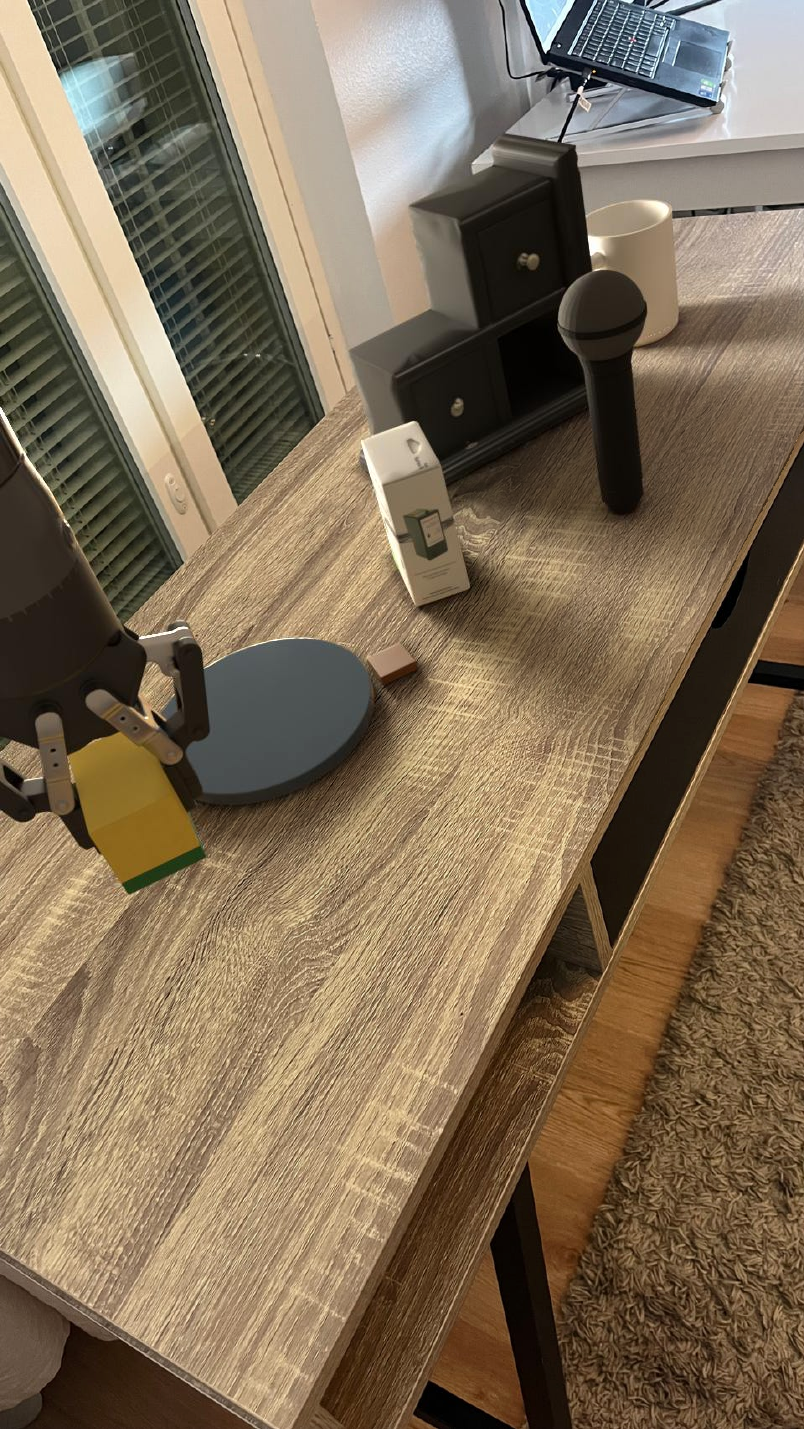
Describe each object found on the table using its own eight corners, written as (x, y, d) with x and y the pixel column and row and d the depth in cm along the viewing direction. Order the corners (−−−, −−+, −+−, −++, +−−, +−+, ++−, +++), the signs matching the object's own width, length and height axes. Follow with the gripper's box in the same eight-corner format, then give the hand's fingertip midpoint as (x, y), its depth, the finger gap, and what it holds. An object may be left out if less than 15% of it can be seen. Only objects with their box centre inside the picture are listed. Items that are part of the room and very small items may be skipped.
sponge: (128, 895, 57) (88, 834, 53) (105, 814, 62) (67, 753, 59) (207, 857, 57) (171, 795, 54) (177, 780, 63) (143, 718, 59)
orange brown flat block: (383, 685, 81) (380, 677, 80) (368, 665, 83) (365, 657, 83) (418, 669, 81) (416, 661, 81) (403, 649, 84) (400, 641, 83)
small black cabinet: (414, 505, 99) (347, 249, 84) (358, 468, 107) (287, 228, 92) (611, 399, 105) (582, 142, 90) (545, 371, 113) (507, 130, 97)
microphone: (614, 480, 94) (586, 251, 81) (679, 495, 90) (661, 257, 77) (569, 519, 91) (533, 289, 78) (634, 537, 87) (608, 297, 74)
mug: (693, 310, 115) (686, 197, 107) (649, 364, 109) (638, 248, 101) (611, 309, 120) (599, 201, 112) (564, 360, 114) (548, 249, 106)
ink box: (391, 556, 94) (356, 436, 86) (445, 538, 94) (414, 416, 86) (415, 609, 87) (379, 483, 79) (472, 589, 87) (443, 462, 80)
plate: (188, 842, 73) (181, 831, 73) (139, 707, 86) (133, 696, 85) (410, 737, 76) (406, 725, 75) (330, 621, 89) (326, 610, 88)
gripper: (129, 475, 52) (246, 728, 63) (-159, 597, 50) (15, 836, 61) (162, 542, 46) (285, 807, 57) (-160, 682, 44) (32, 928, 55)
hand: (145, 820), depth 59 cm, fingers closed on sponge, 4 cm apart
